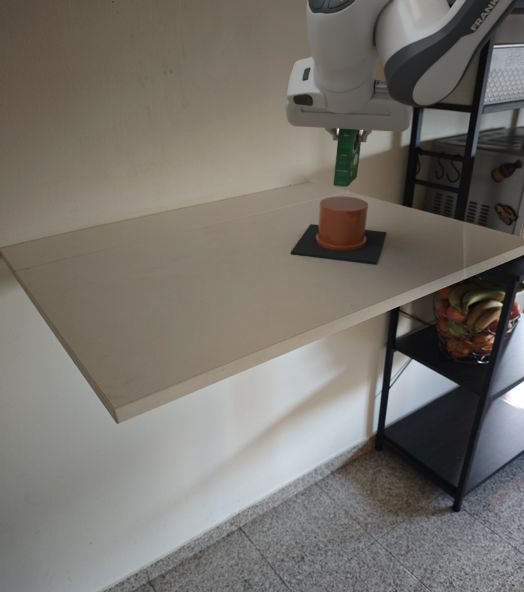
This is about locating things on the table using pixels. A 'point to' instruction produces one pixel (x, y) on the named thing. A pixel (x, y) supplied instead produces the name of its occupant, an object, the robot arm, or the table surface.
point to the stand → (342, 223)
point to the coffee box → (346, 157)
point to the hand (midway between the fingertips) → (350, 138)
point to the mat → (362, 255)
